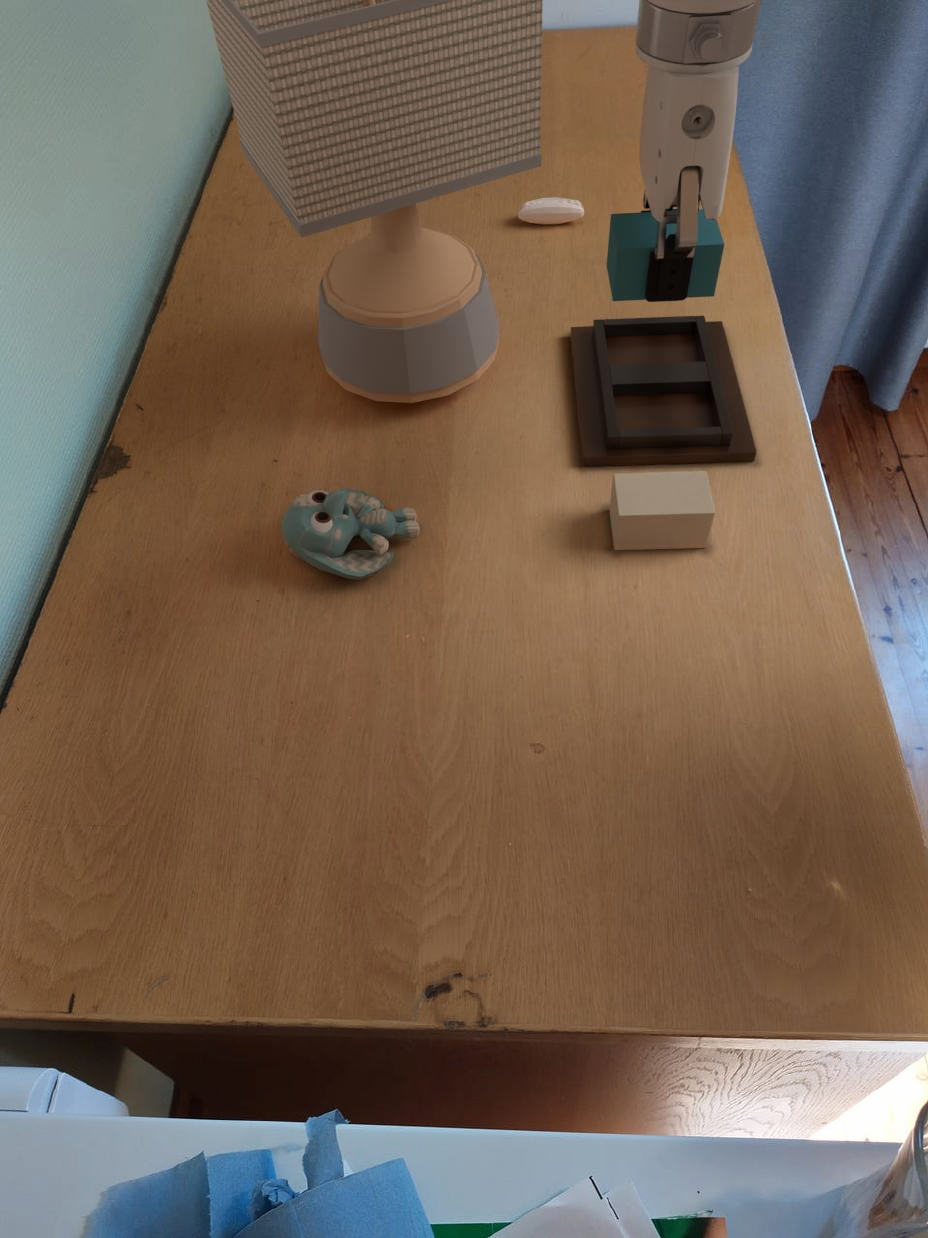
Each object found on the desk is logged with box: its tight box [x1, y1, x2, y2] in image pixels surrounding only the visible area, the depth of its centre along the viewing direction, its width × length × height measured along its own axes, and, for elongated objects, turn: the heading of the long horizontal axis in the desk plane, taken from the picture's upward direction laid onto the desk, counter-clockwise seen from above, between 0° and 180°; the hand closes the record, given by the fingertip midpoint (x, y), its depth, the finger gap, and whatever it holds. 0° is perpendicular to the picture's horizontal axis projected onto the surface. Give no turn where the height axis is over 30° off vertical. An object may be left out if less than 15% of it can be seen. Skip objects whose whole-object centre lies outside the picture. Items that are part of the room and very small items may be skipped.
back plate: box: [569, 315, 757, 467], centre depth 89 cm, size 16×20×3 cm
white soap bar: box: [517, 196, 585, 226], centre depth 108 cm, size 3×8×3 cm, turn 88°
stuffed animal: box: [280, 488, 421, 581], centre depth 77 cm, size 11×7×12 cm
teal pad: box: [606, 208, 725, 302], centre depth 70 cm, size 8×5×4 cm, turn 90°
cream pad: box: [608, 470, 716, 551], centre depth 77 cm, size 8×5×4 cm, turn 89°
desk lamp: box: [205, 0, 544, 404], centre depth 80 cm, size 22×19×37 cm
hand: (660, 275), depth 72 cm, fingers closed on teal pad, 5 cm apart
